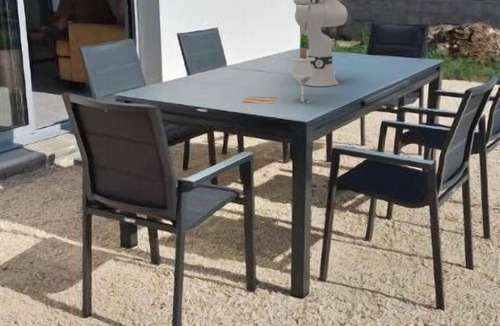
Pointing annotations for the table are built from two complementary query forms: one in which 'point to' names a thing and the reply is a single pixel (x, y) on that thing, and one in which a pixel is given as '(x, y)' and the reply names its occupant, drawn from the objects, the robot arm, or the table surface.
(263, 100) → the mat
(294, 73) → the wineglass
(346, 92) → the table surface
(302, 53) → the lid
